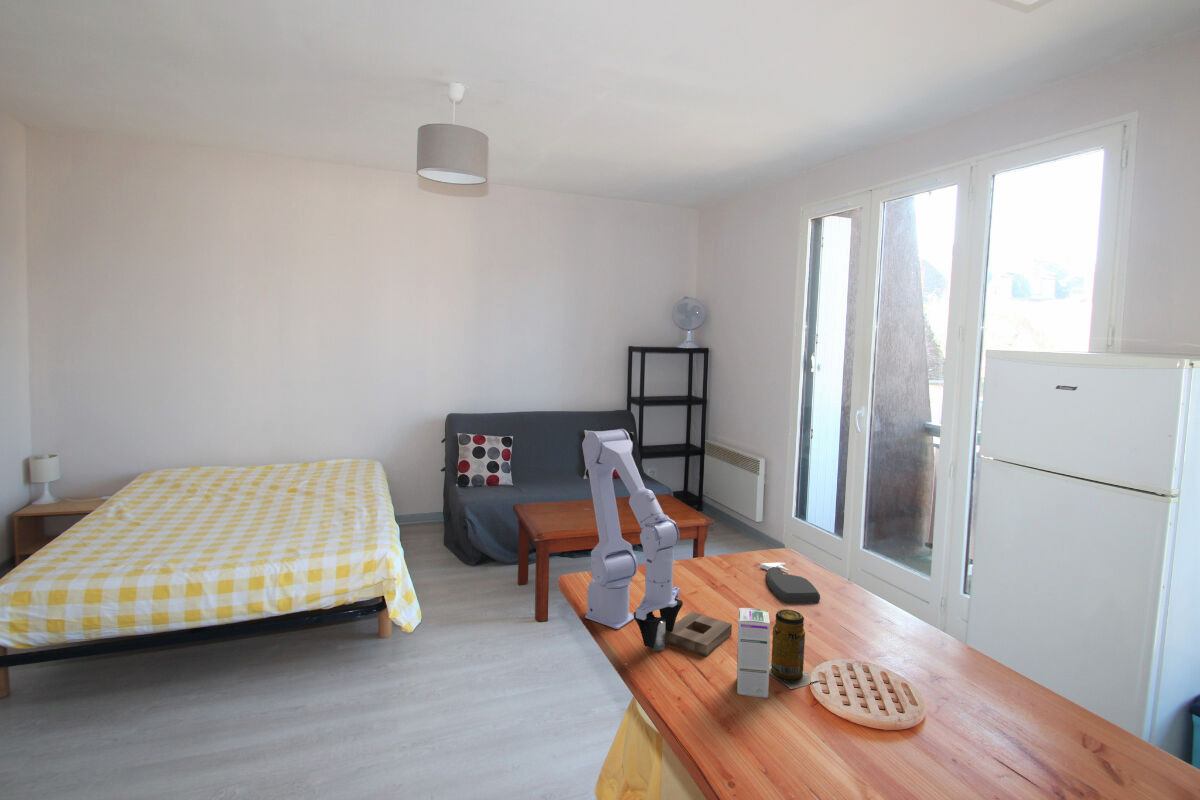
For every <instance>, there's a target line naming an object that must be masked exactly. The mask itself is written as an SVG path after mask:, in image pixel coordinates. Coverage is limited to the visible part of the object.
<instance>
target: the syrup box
mask: <svg viewBox="0 0 1200 800" xmlns="http://www.w3.org/2000/svg"><path fill="white" fill-rule="evenodd" d="M769 613H770V611H769V610H767V609H761V608H752V607H739V608H738V617H737V619H738V620H737V621H738V622H737V654H736V655H737V657H736V658H737V659H736V661H737V664H736V666H737V667H736V668H737V669H736V689H737V690H736V693H737V695H741V696H749V697H754V698H755V697H756V698H763V699H768V698H769V689H770V688H769V683H770V674H769V665H770V655H771V654H770V646H771V644H770V643H771V641H770V640H771V639H770V637H771V632H770V631H771V624H770V623H771V621H770V614H769Z"/></svg>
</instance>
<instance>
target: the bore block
mask: <svg viewBox="0 0 1200 800" xmlns="http://www.w3.org/2000/svg"><path fill="white" fill-rule="evenodd" d="M732 627H733V624H732V623H730V622H727V621H724V620H720V619H717V618H713V617H711V616H707V615H704V614H700V613H697V612H694V611H690V612H689V613H687V614H686V615H684V616H683V617H682V618H680V619H679V620H678V621H677V622H676V621H675V624H674V628H673V631H672V632H670V631H667V630H665V644H670V645H671V646H675V647H678V648H680V649H683V650H686V651H689V652H692V653H695V654H697V655H699V656H700V655H701V656H703V657H706V658H707V657H709V655H710V654H711V653H713V652H714V651H715V650H716V649H717V648H718V647H719V646H721V644H723V643H724V642H725V641H726V640H727V639H729V637H731V636H732V632H733V628H732Z"/></svg>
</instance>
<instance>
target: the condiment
mask: <svg viewBox="0 0 1200 800" xmlns="http://www.w3.org/2000/svg"><path fill="white" fill-rule="evenodd" d="M774 620H775V621H774V622H775V623H774V625H773V627H772V641H771V644H772V646H771V661H770V663H771V664H769V676H771V677H772V678H774V679H775V680H778V681H779V682H780V683H781V684H783V685H784V686H786V687H787V688H788V689H790V690H792V689H798V688H802V687H804V686H809V685H811V684H810V678H811V675H812V674H810V673H809V672H807V671H806V670H804V665H805V663H804V660H805V659H804V658H805V642H806V630H805V629H804V628H805V627H804V626H805V624H804V621H805V618H804V616H803V614H802V613H801V612H799V611H797V610H793V609H779V610H778V611H776V613H775V619H774Z"/></svg>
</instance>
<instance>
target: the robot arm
mask: <svg viewBox="0 0 1200 800" xmlns="http://www.w3.org/2000/svg"><path fill="white" fill-rule="evenodd" d="M633 444H634V443H633V441H632V440H631V437H630V434H629V433H628V431H627V430H626V429H625V428H618V429H612V430H611V429H610V430H601V431H589V432H587V433H586V435H585V437H584V439H583V440H582V444H581V445H582V452H583V457H584V465H585V468H586V469H587V470H588V478H589V482H590V483H589V484H590V489H591V496H592V504H593V508H594V517H595V522H596V528H597V534H598V540H599V541H598V543H597V544H596V545H595V547H593V549H592V550H591V552H590V557H591V558H590V559H591V562H590V563H591V564H590V573H591V576H592V579H591V580H590V582H589V584H588V587H587V593H586V595H587V598H586V599H587V601H586V602H587V605H586V607H587V608H586V609H587V611H586V612H587V613H586V614H585V616H584V618H585V619H588V620H590V621H593V622H596V623H598V624H602V625H604V626H607V627H610V628H612V629H615V630H619V629H621V628H622V627H623V626H625V625H627V624H629V623H630V622H632V621H635V622H636V624H637V626H638V628H639V631H640V633H641V638H642V642H643V645H644V647H647V648H649V649H650V648H654V646H655V640H656V632H657V628H658V625H659V623H660V621H661V619H660V618H657V617H658V616H655V614H654V612H655V611H658V610H659V615H660V616H659V617H661V618H663V619H665V621H666V625H665V630H667V631H670V632H672V631H673V628H674V624H675V623H676V619H677V617H678V615H679V612H680V610H681V609H682V607H683V603H684V602H683V600H681V599H679V598H680V596H681V591H680V590H681V588H680V587H677V586H674V582H673V581H674V580H673V579H674V577H673V576H674V547H675V546H677V545H678V543H679V542H680V537H681V536H680V534H681V533H680V530H679V528H678V524H677V523H676V521H675V520H673V519H672V518H670V517H669V515H667V514H665V512H664V511H663V509H662V507H661V505H660V503H659V500H658V499H657V497H656V495H655V493H654V491H653V490H651V489H649V488H646V487H645V484H644V482H643V480H642V477H641V475H640V473H639V469H638V466H637V465H636V462H635V459H634V457H633V454H632V452H633V447H634V446H633ZM613 469H615V471H616V472H617V474H618V476H619V478H620V479H621V481H622V482H623V484H624V486H625V488H626V489H627V491H628V492H629V494H630V496H629V499H628V504H629V506H630V508H631V510H632V512H633V514H634V517H635V519H636V521H637V522H638V526H639V528H640V529H641V532H640V534H639V540H640V543H641V546H642V553H643V556H644V558H645V583H644V584H645V585H644V588H645V590H644V591H645V592H644V597H643V599H642V600H641V602H640V604H639V605H638V606H637V607H636V608H635V611H634V612H633V613H631V612H630V584H631V582H632V583H633V577H635V576H636V575H637V572H638V566H639V565H638V559H637V557H636V555H635V553H634V551H633V545H632V544H631V543H630V542H628V541H626V540H625V539H624V538H623V536H622V529H621V524H620V517H619V512H618V506H617V501H616V499H617V498H616V493H615V488H614V481H613V475H612V470H613Z"/></svg>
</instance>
